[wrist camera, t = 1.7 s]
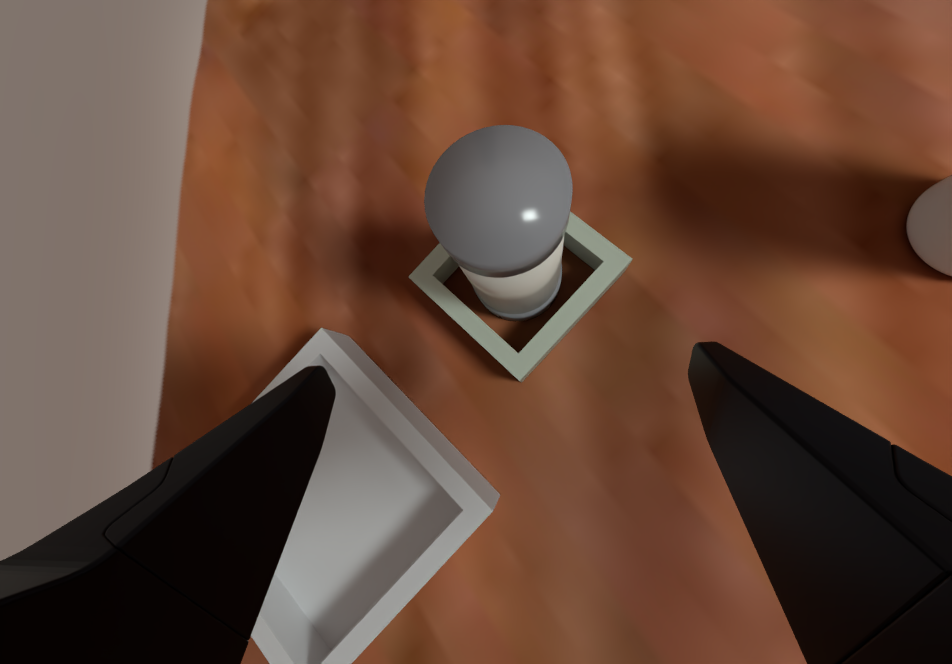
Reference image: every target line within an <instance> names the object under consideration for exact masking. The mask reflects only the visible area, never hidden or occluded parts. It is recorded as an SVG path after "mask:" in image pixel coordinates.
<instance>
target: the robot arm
mask: <svg viewBox="0 0 952 664" xmlns="http://www.w3.org/2000/svg"><path fill="white" fill-rule="evenodd" d="M688 378H689V382H690V386H691V389H692V392H693V396H694V399H695V402H696V405H697V409H698V412H699V415H700V418H701V422H702V425H703V428H704V431H705V434H706V437H707V440H708V443H709V445H710V448H711V450H712V452H713V454H714V457H715V459H716V461H717V463H718V466H719V468H720V470H721V472H722V475H723V477H724V479H725V481H726V483H727V486H728V488H729V490H730V492H731V495H732V497H733V499H734V501H735V504H736V506H737V508H738V510H739V513H740V515H741V517H742V519H743V521H744V524H745V526H746V528H747V530H748V533H749V535H750V537H751V539H752V542H753V544H754V546H755V548H756V550H757V553H758V555H759V557H760V559H761V562H762V564H763V566H764V568H765V571H766V573H767V575H768V577H769V580H770V582H771V584H772V586H773V588H774V591H775V593H776V595H777V597H778V600H779V602H780V604H781V606H782V609H783V611H784V613H785V615H786V617H787V620H788V622H789V624H790V626H791V629H792V631H793V633H794V635H795V638H796V640H797V642H798V644H799V647H800V649H801V651H802V653H803V655H804V658H805V660H806V662H807V664H952V476H950V475H948V474H947V473H945V472H943V471H941V470H940V469H938V468H936V467H934V466H932V465H931V464H929V463H927V462H925V461H923V460H922V459H920V458H918V457H916V456H915V455H913V454H911V453H909V452H908V451H906V450H904V449H902V448H901V447H899V446H897V445H891V442H890V441H888V440H886V439H885V438H883V437H881V436H880V435H878V434H876V433H874V432H873V431H871V430H869V429H867V428H866V427H864V426H862V425H860V424H859V423H857V422H855V421H853V420H852V419H850V418H848V417H846V416H845V415H843V414H841V413H840V412H838V411H836V410H834V409H833V408H831V407H829V406H827V405H826V404H824V403H822V402H820V401H819V400H817V399H815V398H813V397H812V396H810V395H808V394H807V393H805V392H803V391H801V390H800V389H798V388H796V387H794V386H793V385H791V384H789V383H787V382H786V381H784V380H782V379H780V378H779V377H777V376H775V375H774V374H772V373H770V372H768V371H767V370H765V369H763V368H761V367H760V366H758V365H756V364H754V363H753V362H751V361H749V360H747V359H746V358H744V357H742V356H740V355H739V354H737V353H735V352H734V351H732V350H730V349H728V348H727V347H725V346H723V345H721V344H720V343H718V342H698V343H696V344H695V345H694V347H693V350H692V355H691V360H690V364H689V369H688ZM335 397H336V390H335V387H334V385H333V383H332V381H331V379H330V377H329V375H328V373H327V371H326V369H325V368H324V367H323V366H321V365H317V366H307V367H305V368H303V369H302V370H300V371H299V372H297V373H296V374H294V375H293V376H291V377H290V378H288V379H287V380H286V381H284V382H283V383H281V384H280V385H278V386H277V387H275V388H274V389H272V390H271V391H269V392H268V393H266V394H265V395H263V396H262V397H260V398H259V399H257V400H256V401H254V402H253V403H251V404H250V405H248V406H247V407H245V408H244V409H242V410H241V411H239V412H238V413H237V414H235V415H234V416H232V417H231V418H229V419H228V420H226V421H225V422H223V423H222V424H220V425H219V426H217V427H216V428H214V429H213V430H211V431H210V432H208V433H207V434H205V435H204V436H202V437H201V438H199V439H198V440H196V441H195V442H193V443H192V444H190V445H189V446H188V447H186V448H185V449H183V450H182V451H180V452H179V453H177V454H176V455H175V456H174V458H173V457H172V458H170V459H168V460H167V461H165V462H164V463H162V464H161V465H159V466H158V467H156V468H155V469H153V470H152V471H150V472H149V473H147V474H146V475H144V476H143V477H141V478H140V479H138V480H137V481H135V482H133V483H132V484H131V485H129V486H128V487H126V488H124V489H123V490H121V491H119V492H118V493H116V494H114V495H113V496H111V497H110V498H108V499H107V500H105V501H103V502H102V503H100V504H98V505H97V506H95V507H93V508H92V509H90V510H89V511H87V512H85V513H84V514H82V515H80V516H79V517H77V518H75V519H74V520H72V521H70V522H69V523H67V524H66V525H64V526H62V527H61V528H59V529H57V530H56V531H54V532H52V533H51V534H49V535H48V536H46V537H44V538H43V539H41V540H39V541H38V542H36V543H34V544H33V545H31V546H29V547H27V548H26V549H24V550H23V551H20V552H19V553H17V554H15V555H12V556H10V557H8V558H6V559H4V560H2V561H0V664H241V661H242V658H243V656H244V653H245V650H246V648H247V645H248V640H249V639H250V637H251V634H252V631H253V629H254V626H255V623H256V621H257V618H258V616H259V613H260V610H261V608H262V605H263V602H264V600H265V597H266V594H267V592H268V589H269V587H270V584H271V581H272V579H273V576H274V573H275V571H276V568H277V566H278V563H279V560H280V558H281V555H282V552H283V550H284V547H285V544H286V542H287V539H288V537H289V534H290V531H291V529H292V526H293V523H294V521H295V518H296V515H297V513H298V510H299V508H300V505H301V502H302V500H303V497H304V494H305V492H306V489H307V487H308V484H309V481H310V479H311V476H312V473H313V471H314V468H315V465H316V463H317V460H318V458H319V455H320V452H321V449H322V446H323V442H324V439H325V435H326V431H327V428H328V424H329V420H330V416H331V412H332V409H333V405H334V401H335Z"/></svg>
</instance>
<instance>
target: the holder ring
mask: <svg viewBox="0 0 952 664" xmlns="http://www.w3.org/2000/svg"><path fill="white" fill-rule="evenodd" d="M563 245H564V246H565V247H566V248H567V249H569V250H570V251H571V252H573V253H574V254H575V255H576V256H578V257H579V258H580V259H581V260H583V261H584V262H585V263H586V264H588V265H589V266H590V267H591V268H593V269H594V270H595V271H594V273H593V274H592V275H591V276H590V277H589V278H588V279H587V280H586V281H585V282H584V283H583V284H582V285H581V287H580V288H579V289H578V290H577V291H576V292H575V293H574V294H573V295H572V296H571V297H570V298H569V300H568V301H567V302H566V303H565V304H564V305H563V306H562V307H561V308H560V309H559V310H558V311H557V312H556V314H555V315H554V316H553V317H552V318H551V319H550V320H549V321H548V322H547V323H546V324H545V325H544V326H543V328H542V329H541V330H540V331H539V332H538V333H537V334H536V335H535V336H534V337H533V338H532V339H531V341H530V342H529V343H528V344H527V345H526V346H525V347H524V348H523V349H522V350H521V351H520V352H519V353H517V352H516V351H515V350H514V349H513V348H512V347H511V346H509V345H508V344H507V343H506V342H505V341H504V340H503V339H502V338H501V337H500V336H499V335H497V334H496V333H495V332H494V331H493V330H492V329H491V328H490V327H489V326H488V325H486V324H485V323H484V322H483V321H482V320H481V319H480V318H479V317H478V316H477V315H476V314H474V313H473V312H472V311H471V310H470V309H469V308H468V307H467V306H466V305H465V304H463V303H462V302H461V301H460V300H459V299H458V298H457V297H456V296H455V295H454V294H453V293H451V292H450V291H449V290H448V289H447V288H446V287H445V286H444V285H443V283H444V282H445V281H446V280H447V279H448V278H449V277H450V276H451V275H452V273H453V272H454V271H455V270H456V269H457V268H458V267H459V265H458V264H457V263H456V262H455V261H454V260H453V259H452V258H451V257H450V256H449V255H448V253H447V252H446V251H445V249H444V248H443V246H442V245H441V243H439V244H438V245H437V246H436V247H435V248H434V250H433V251H432V252H431V253H430V254H429V255H428V256H427V257H426V258H425V259H424V260H423V261H422V263H421V264H420V265H419V266H418V267H417V268H416V269H415V270H414V271H413V272H412V273H411V274H410V276H409V278H410V279H411V280H412V281H413V282H414V283H415V284H416V285H417V286H418V287H419V288H420V289H422V290H423V291H424V292H425V293H426V294H427V295H428V296H429V297H430V298H431V299H432V300H433V301H434V302H435V303H436V304H438V305H439V306H440V307H441V308H442V309H443V310H444V311H445V312H446V313H447V314H448V315H449V316H450V317H451V318H453V319H454V320H455V321H456V322H457V323H458V324H459V325H460V326H461V327H462V328H463V329H464V330H465V331H466V332H467V333H469V334H470V335H471V336H472V337H473V338H474V339H475V340H476V341H477V342H478V343H479V344H480V345H481V346H482V347H484V348H485V349H486V350H487V351H488V352H489V353H490V354H491V355H492V356H493V357H494V358H495V359H496V360H497V361H498V362H500V363H501V364H502V365H503V366H504V367H505V368H506V369H507V370H508V371H509V372H510V373H511V374H512V375H513V376H515V377H516V378H517V379H518V380H519V381H520V382H523V381H524V380H525V378H526V377H527V376H528V375H529V374H530V373H531V372H532V371H533V370H534V369H535V368H536V367H537V366H538V364H539V363H540V362H541V361H542V360H543V359H544V358H545V357H546V356H547V355H548V354H549V353H550V352H551V350H552V349H553V348H554V347H555V346H556V345H557V344H558V343H559V342H560V341H561V340H562V339H563V338H564V336H565V335H566V334H567V333H568V332H569V331H570V330H571V329H572V328H573V327H574V326H575V325H576V324H577V322H578V321H579V320H580V319H581V318H582V317H583V316H584V315H585V314H586V313H587V312H588V311H589V309H590V308H591V307H592V306H593V305H594V304H595V303H596V302H597V301H598V300H599V299H600V298H601V297H602V295H603V294H604V293H605V292H606V291H607V290H608V289H609V288H610V287H611V286H612V285H613V284H614V283H615V281H616V280H617V279H618V278H619V277H620V276H621V275H622V274H623V273H624V272H625V270H626V269H627V267H628V266H629V264H630V263H631V261H632V258H631V257H629V256H628V255H627V254H625V253H624V252H623V251H621V250H620V249H619V248H618V247H616V246H615V245H614V244H612V243H611V242H610V241H608V240H607V239H606V238H604V237H603V236H602V235H600V234H599V233H598V232H596V231H595V230H594V229H593V228H591V227H590V226H589V225H587V224H586V223H585V222H583V221H582V220H581V219H579V218H578V217H577V216H575V215H574V214H573V213H572V212H570V215H569V222H568V226H567V229H566V232H565V234H564V243H563Z"/></svg>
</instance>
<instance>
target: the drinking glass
mask: <svg viewBox="0 0 952 664" xmlns="http://www.w3.org/2000/svg"><path fill="white" fill-rule="evenodd" d="M906 229H907V235H908V239H909V242H910V244H911V246H912V248H913V249H914V251H915V252H916V254H917V255H918V256H919V257H920V258H921V259H922V260H923V261H924V262H925V263H927V264H928V265H929V266H931V267H932V268H934V269H935V270H937V271H939V272H941V273H944V274H946V275H949V276H952V175H950V176H948V177H946V178H945V179H943V180H941V181H939V182H938V183H936V184H934V185H933V186H931V187H930V188H928V189H927V190H926V191H925V192H923V193H922V194H921V195H920V196H919V197H918V198H917V200H916V201H915V202H914V204H913V205H912V207H911V209H910V211H909V214H908V218H907V224H906Z"/></svg>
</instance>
